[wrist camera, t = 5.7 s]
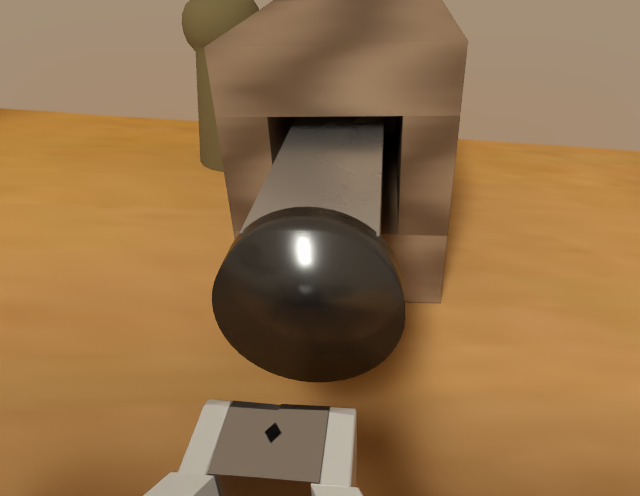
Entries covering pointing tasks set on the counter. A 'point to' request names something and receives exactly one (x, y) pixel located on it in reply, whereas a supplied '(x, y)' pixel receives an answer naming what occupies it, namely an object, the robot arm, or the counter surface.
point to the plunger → (315, 259)
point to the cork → (200, 30)
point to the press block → (350, 107)
